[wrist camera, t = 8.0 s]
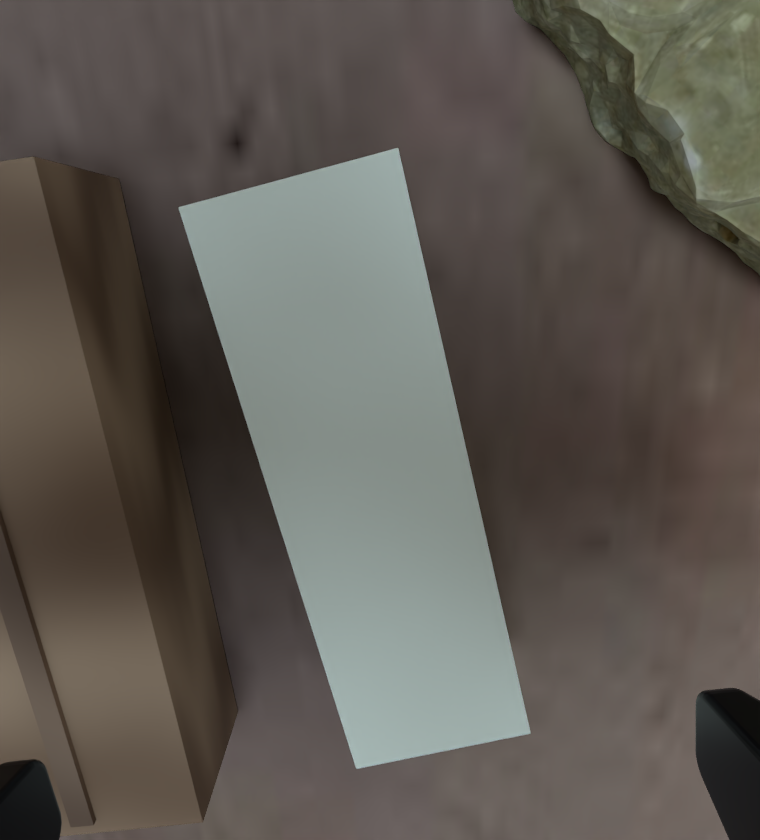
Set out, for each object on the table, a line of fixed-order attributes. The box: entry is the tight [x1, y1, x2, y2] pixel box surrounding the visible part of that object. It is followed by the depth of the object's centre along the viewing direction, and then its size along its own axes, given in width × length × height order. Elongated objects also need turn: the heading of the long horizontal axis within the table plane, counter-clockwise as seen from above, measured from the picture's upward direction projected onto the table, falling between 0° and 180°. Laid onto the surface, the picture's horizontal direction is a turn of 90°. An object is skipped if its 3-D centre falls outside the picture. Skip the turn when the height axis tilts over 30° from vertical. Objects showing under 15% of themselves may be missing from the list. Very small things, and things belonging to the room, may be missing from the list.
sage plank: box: [178, 148, 531, 769], centre depth 16 cm, size 14×4×4 cm, turn 14°
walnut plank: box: [0, 157, 238, 836], centre depth 16 cm, size 16×6×4 cm, turn 7°
